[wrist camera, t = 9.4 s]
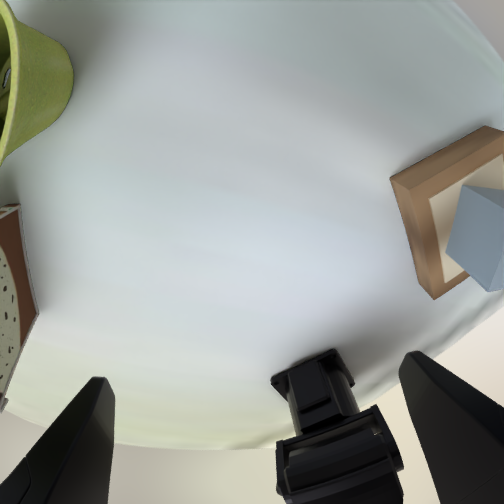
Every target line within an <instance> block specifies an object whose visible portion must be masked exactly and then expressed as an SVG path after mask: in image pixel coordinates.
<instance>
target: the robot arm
mask: <svg viewBox="0 0 504 504" xmlns="http://www.w3.org/2000/svg"><path fill="white" fill-rule="evenodd" d="M399 379H400V382H401V386H402V389H403V393H404V396H405V400H406V404H407V407H408V411H409V414H410V416H411V420H412V423H413V425H414V428H415V430H416V433H417V436H418V438H419V441H420V444H421V447H422V450H423V452H424V455H425V458H426V461H427V463H428V467H429V470H430V473H431V475H432V478H433V482H434V485H435V488H436V491H437V494H438V497H439V500H440V504H504V407H502V406H501V405H499V404H497V403H496V402H495V401H493V400H492V399H490V398H489V397H487V396H486V395H484V394H483V393H482V392H480V391H478V390H477V389H475V388H474V387H473V386H471V385H470V384H468V383H467V382H465V381H464V380H462V379H461V378H459V377H458V376H456V375H455V374H453V373H452V372H450V371H449V370H447V369H446V368H444V367H443V366H441V365H440V364H438V363H437V362H435V361H434V360H432V359H431V358H429V357H428V356H426V355H425V354H423V353H422V352H420V351H412V352H408V353H407V354H406V355H405V357H404V359H403V361H402V364H401V366H400V368H399ZM270 381H271V385H272V386H273V387H274V388H275V389H276V390H277V391H278V392H279V393H280V394H281V396H282V397H283V398H284V399H285V400H286V401H287V402H288V403H289V407H290V412H291V416H292V420H293V424H294V428H295V432H296V437H293V438H289V439H286V440H280V441H276V448H277V450H276V470H277V485H276V491H277V493H278V494H279V495H281V496H283V498H284V500H285V502H286V504H403V495H404V494H403V490H402V487H401V484H400V481H399V478H398V475H397V472H399V471H401V470H403V469H404V465H403V461H402V458H401V455H400V452H399V449H398V447H397V444H396V442H395V439H394V437H393V435H392V433H391V431H390V429H389V427H388V425H387V423H386V421H385V420H384V418H383V416H382V414H381V412H380V410H379V408H378V406H377V405H376V404H375V405H373V406H371V408H369V409H367V410H364V411H362V412H360V410H359V408H358V405H357V403H356V400H355V398H354V395H353V393H352V391H351V387H353V386H354V385H355V382H354V380H353V378H352V376H351V374H350V373H349V371H348V369H347V367H346V365H345V364H344V362H343V360H342V358H341V356H340V355H339V353H338V351H337V350H335V349H332V350H330V351H328V352H326V353H324V354H322V355H320V356H318V357H316V358H314V359H312V360H309V361H307V362H305V363H303V364H301V365H299V366H297V367H295V368H292V369H290V370H288V371H286V372H284V373H281V374H279V375H277V376H275V377H273V378H271V380H270ZM114 420H115V395H114V392H113V390H112V388H111V386H110V384H109V382H108V380H107V378H105V377H96V376H95V377H92V378H91V379H90V380H89V381H88V382H87V384H86V385H85V386H84V387H83V388H82V389H81V390H80V392H79V393H78V394H77V395H76V396H75V397H74V399H73V400H72V401H71V402H70V403H69V404H68V405H67V407H66V408H65V409H64V410H63V411H62V413H61V414H60V415H59V416H58V417H57V418H56V420H55V421H54V422H53V423H52V424H51V426H50V427H49V428H48V429H47V430H46V431H45V433H44V434H43V435H42V436H41V437H40V439H39V440H38V441H37V442H36V444H35V445H34V446H33V447H32V448H31V450H30V451H29V452H28V453H27V454H26V457H24V458H23V459H22V460H21V462H20V463H19V464H18V465H17V467H16V468H15V469H14V470H13V471H12V472H11V474H10V475H9V476H8V477H7V478H6V479H5V480H4V481H3V482H2V483H1V484H0V504H108V493H109V483H110V474H111V465H112V457H113V448H114ZM374 434H375V435H374Z"/></svg>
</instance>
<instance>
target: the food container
mask: <svg viewBox="0 0 504 504" xmlns="http://www.w3.org/2000/svg"><path fill="white" fill-rule="evenodd" d="M38 315H39V311H38V307H37V303H36V299H35V295H34V290H33V286H32V281H31V276H30V270H29V265H28V259H27V253H26V247H25V240H24V233H23V224H22V215H21V205H20V204H8V205H6V206H4V207H1V208H0V413H2V411H3V410H4V408H5V406H6V404H7V403H8V401H9V400H8V399H7V398H5V395H6V392H7V389H8V386H9V383H10V381H11V378H12V375H13V373H14V370H15V368H16V365H17V363H18V360H19V358H20V355H21V353H22V350H23V348H24V346H25V343H26V341H27V339H28V337H29V334H30V332H31V330H32V328H33V326H34V323H35V321H36V319H37V317H38Z"/></svg>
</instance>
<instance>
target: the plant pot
mask: <svg viewBox="0 0 504 504" xmlns="http://www.w3.org/2000/svg"><path fill="white" fill-rule="evenodd" d="M9 68H10V69H11V71H10V73H9V77H8V79H7V82H6V87H5V88H4V89H3V87H2V84H3V81H4V76H5V74H6V72H7V70H8V69H9ZM73 80H74V72H73V68H72V65H71V62H70V59H69V56H68V54H67V51H66V49H65V48H64V47H63V46H62V45H61V44H60V43H58V42H57V41H55V40H53V39H51V38H49V37H47V36H45V35H44V34H42V33H40V32H38V31H36V30H34V29H33V28H31V27H29V26H27V25H25V24H23V23H21V22H20V21H18V20H17V19H16V17H15V16H14V13H13V11H12V9H11V7H10V6H9V4H8V3H7V2H6V0H0V166H1V165H2V162H3V160H4V159H5V158H6V156H8V155H9V154H10V153H11V152H13V151H14V150H15V149H17V148H18V147H19V146H21V145H22V144H24V143H25V142H26V141H28V140H29V139H31V138H33V137H34V136H36V135H37V134H39V133H40V132H42V131H43V130H45V129H46V128H47V127H49V126H50V125H51V124H52V123H53V122H55V121H56V120H57V118H58V117H59V116H60V115H61V113H62V112H63V110H64V109H65V107H66V105H67V103H68V100H69V98H70V95H71V91H72V87H73Z"/></svg>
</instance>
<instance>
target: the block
mask: <svg viewBox="0 0 504 504" xmlns="http://www.w3.org/2000/svg"><path fill="white" fill-rule="evenodd" d="M445 253H446V254H447V255H448V256H450V257H451V258H452V259H453V260H454V261H455V262H456V263H457V264H458V265H460V266H461V267H462V268H463V269H464V270H465V271H466V272H467V273H468V274H469V275H470V276H471V277H472V278H473V279H475V280H476V281H477V282H478V283H479V284H480V285H481V286H482V287H483V288H484V289H485V290H486V291H487V292H491V291H496V290H501V289H504V190H499V189H492V188H485V187H477V186H469V185H462V186H461V191H460V196H459V200H458V205H457V209H456V213H455V217H454V222H453V225H452V229H451V233H450V237H449V240H448V244H447V247H446V251H445Z"/></svg>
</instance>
